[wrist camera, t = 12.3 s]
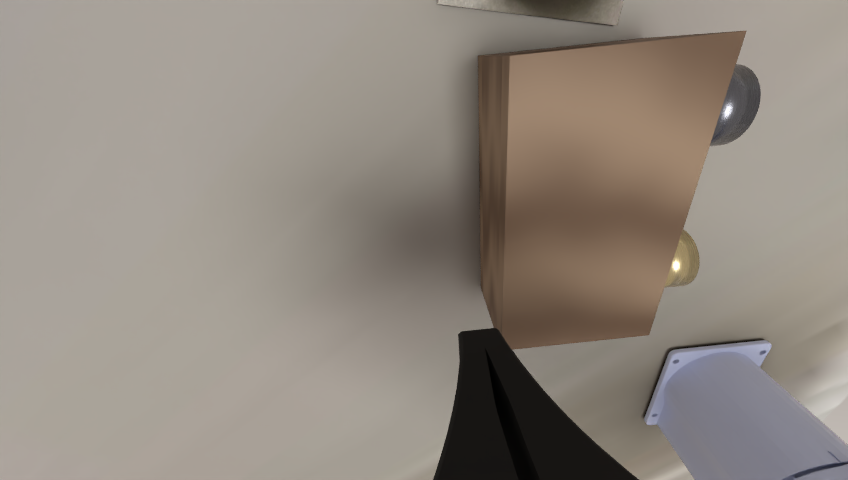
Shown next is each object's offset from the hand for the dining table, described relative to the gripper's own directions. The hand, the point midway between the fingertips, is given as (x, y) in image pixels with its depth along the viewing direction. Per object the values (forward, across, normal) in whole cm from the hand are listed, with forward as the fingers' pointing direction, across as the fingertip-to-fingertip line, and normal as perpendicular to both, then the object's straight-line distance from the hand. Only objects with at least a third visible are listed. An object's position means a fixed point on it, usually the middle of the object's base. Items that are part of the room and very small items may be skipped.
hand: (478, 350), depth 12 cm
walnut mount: (+10, -6, -2) cm, 12 cm away
